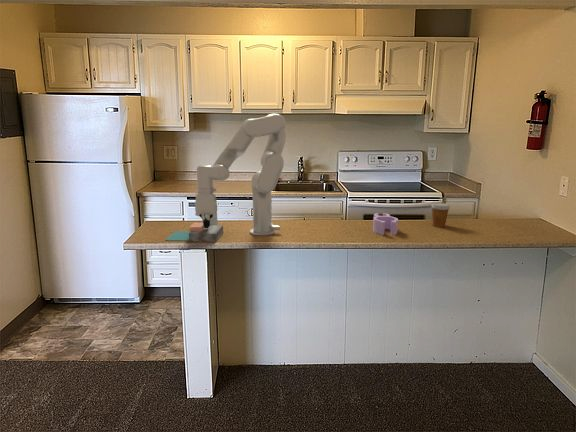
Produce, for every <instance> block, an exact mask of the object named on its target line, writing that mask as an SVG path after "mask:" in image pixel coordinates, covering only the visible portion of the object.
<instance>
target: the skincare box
mask: <svg viewBox="0 0 576 432" xmlns="http://www.w3.org/2000/svg"><path fill="white" fill-rule="evenodd" d="M205 215H206V219H207V215H208V214H205ZM201 221H202V222H201V223H203V220H202V219H201ZM218 222H219V221H218V215H217V216H214V217H212V218H211V219H210V225H219V223H218Z"/></svg>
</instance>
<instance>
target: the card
mask: <svg viewBox="0 0 576 432" xmlns="http://www.w3.org/2000/svg"><path fill="white" fill-rule="evenodd" d="M188 228H189V232H191V231H203V229H204V226H203V223H202V222H193V223H192V224H191V225H190V226H189V227H188Z"/></svg>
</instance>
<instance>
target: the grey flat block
mask: <svg viewBox="0 0 576 432" xmlns="http://www.w3.org/2000/svg"><path fill="white" fill-rule="evenodd" d="M189 232H190V233H189V241H188V242H206V243H207V242H208V243H211V242H213V243H216V242H217V241H218V240H219V239H220V237H221V236H222V235H223V234H224V225H220V224H218V225H210V226H209V227H208V228H204V229H203V231H189Z"/></svg>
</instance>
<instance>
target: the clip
mask: <svg viewBox="0 0 576 432" xmlns="http://www.w3.org/2000/svg"><path fill="white" fill-rule="evenodd" d="M372 221H373V223H372V224H373V225H372V231H373V233H375V234H379V235H380V236H384V235H385V230H390V232H389V233H390V235H393V236H396V235H397V233H398V228H399V219H398V218H397V217H394V216H391V214H389V213H385V212H383V213H382V215H379V213H378V212H376V213H374V214H373V220H372Z"/></svg>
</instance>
